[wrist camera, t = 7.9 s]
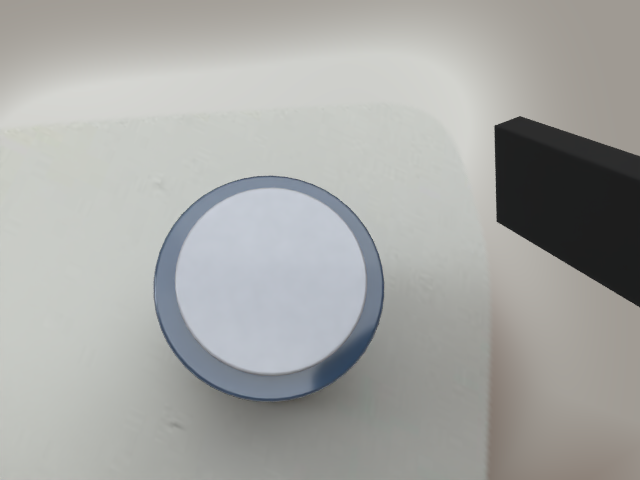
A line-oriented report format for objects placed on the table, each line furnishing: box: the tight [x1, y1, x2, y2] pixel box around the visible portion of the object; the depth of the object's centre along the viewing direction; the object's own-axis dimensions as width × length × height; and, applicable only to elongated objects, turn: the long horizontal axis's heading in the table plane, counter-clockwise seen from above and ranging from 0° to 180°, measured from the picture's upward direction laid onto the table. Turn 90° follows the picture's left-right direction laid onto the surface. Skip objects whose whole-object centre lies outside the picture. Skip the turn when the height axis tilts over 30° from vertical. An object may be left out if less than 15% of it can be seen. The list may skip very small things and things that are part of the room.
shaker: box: [154, 176, 384, 402], centre depth 15 cm, size 5×5×8 cm
